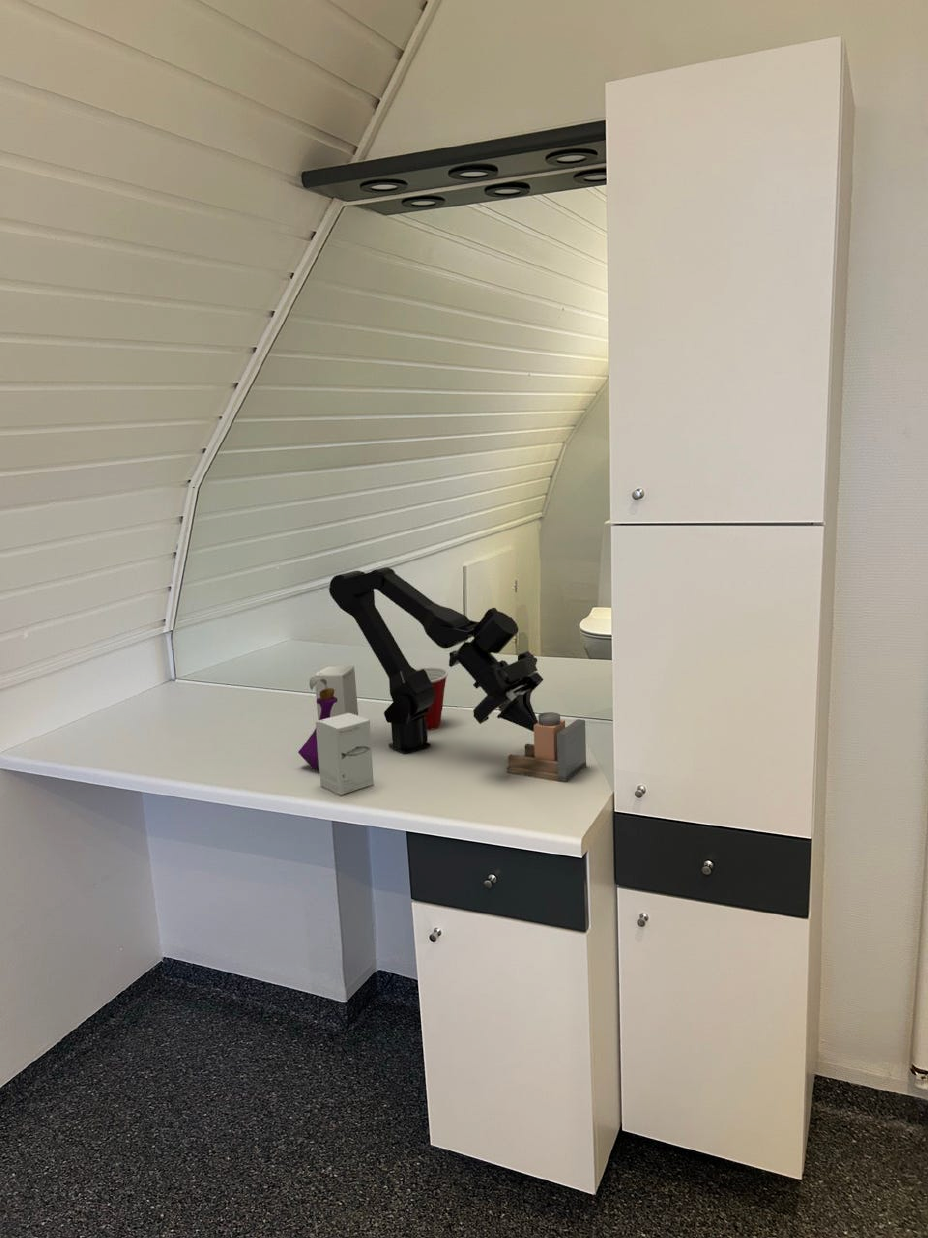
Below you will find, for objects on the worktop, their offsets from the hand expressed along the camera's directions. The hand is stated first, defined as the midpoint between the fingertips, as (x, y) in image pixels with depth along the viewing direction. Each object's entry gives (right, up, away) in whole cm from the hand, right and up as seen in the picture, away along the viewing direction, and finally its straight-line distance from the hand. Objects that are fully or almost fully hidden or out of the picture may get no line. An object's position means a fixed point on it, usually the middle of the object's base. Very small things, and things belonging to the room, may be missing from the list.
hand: (538, 730), depth 175 cm
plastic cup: (-22, -3, +30) cm, 37 cm away
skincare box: (-40, -5, +22) cm, 46 cm away
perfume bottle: (-41, -8, +8) cm, 42 cm away
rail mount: (+2, -7, 0) cm, 8 cm away
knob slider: (+2, -6, 0) cm, 7 cm away
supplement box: (-35, -10, -3) cm, 37 cm away
